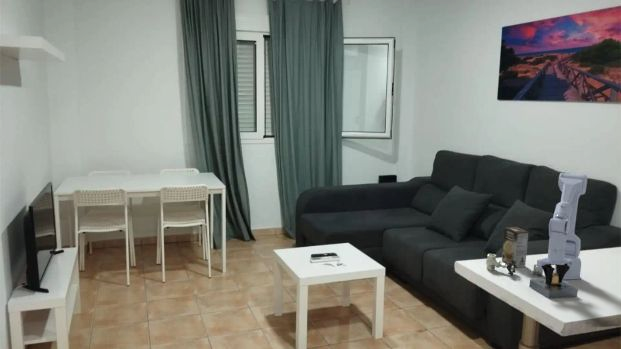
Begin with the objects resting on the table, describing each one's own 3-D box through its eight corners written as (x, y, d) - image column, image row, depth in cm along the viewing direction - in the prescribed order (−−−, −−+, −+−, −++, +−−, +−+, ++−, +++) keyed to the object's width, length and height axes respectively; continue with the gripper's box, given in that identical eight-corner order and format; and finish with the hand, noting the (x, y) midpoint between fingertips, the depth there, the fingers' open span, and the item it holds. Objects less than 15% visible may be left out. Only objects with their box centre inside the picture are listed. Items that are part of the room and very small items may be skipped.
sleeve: (538, 273, 217) (539, 264, 216) (544, 276, 214) (545, 267, 213) (531, 273, 216) (532, 264, 216) (537, 276, 213) (537, 267, 212)
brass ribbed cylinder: (553, 286, 199) (555, 271, 198) (560, 290, 195) (561, 275, 194) (544, 286, 198) (545, 272, 197) (550, 290, 194) (552, 275, 193)
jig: (556, 285, 203) (557, 278, 203) (577, 296, 192) (577, 289, 191) (529, 286, 201) (530, 279, 201) (548, 298, 189) (549, 290, 189)
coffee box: (500, 261, 233) (503, 227, 230) (512, 260, 234) (515, 226, 232) (514, 267, 224) (517, 232, 221) (526, 266, 226) (529, 231, 223)
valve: (482, 270, 220) (509, 277, 212) (483, 255, 219) (510, 262, 211) (489, 266, 225) (516, 273, 216) (490, 252, 224) (517, 259, 215)
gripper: (546, 252, 189) (543, 287, 191) (580, 251, 191) (577, 285, 193) (534, 247, 195) (531, 280, 197) (568, 245, 198) (564, 279, 200)
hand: (553, 282), depth 196 cm, fingers closed on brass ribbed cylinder, 4 cm apart
